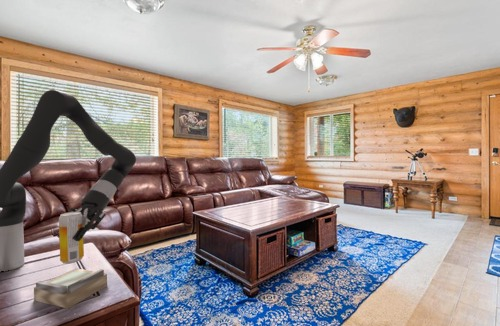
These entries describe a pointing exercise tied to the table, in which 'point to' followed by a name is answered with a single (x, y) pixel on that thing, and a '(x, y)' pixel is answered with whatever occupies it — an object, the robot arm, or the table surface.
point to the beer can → (70, 237)
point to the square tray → (70, 287)
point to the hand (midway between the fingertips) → (67, 238)
